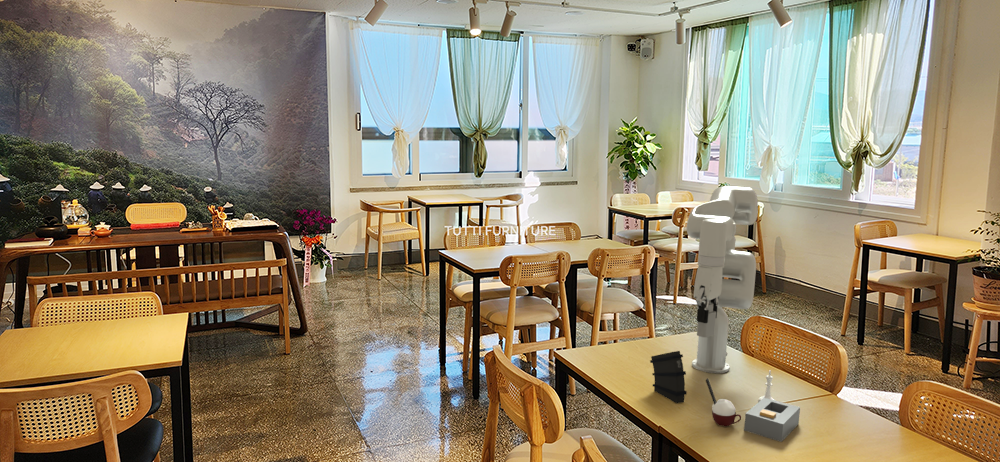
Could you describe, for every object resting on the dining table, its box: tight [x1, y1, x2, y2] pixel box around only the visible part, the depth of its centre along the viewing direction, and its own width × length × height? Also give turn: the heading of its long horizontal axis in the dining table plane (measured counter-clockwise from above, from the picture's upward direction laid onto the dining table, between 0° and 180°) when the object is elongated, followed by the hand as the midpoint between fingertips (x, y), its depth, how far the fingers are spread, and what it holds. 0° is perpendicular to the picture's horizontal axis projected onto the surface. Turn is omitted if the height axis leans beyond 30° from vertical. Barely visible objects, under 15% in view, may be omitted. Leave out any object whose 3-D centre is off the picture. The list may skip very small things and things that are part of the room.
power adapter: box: [696, 300, 716, 337], centre depth 200 cm, size 3×5×12 cm, turn 128°
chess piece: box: [758, 369, 777, 402], centre depth 204 cm, size 5×5×10 cm
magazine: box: [649, 350, 687, 404], centre depth 206 cm, size 4×13×15 cm, turn 26°
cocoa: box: [705, 377, 742, 427], centre depth 187 cm, size 10×6×12 cm
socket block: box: [743, 398, 801, 443], centre depth 186 cm, size 15×10×6 cm, turn 140°
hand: (706, 319), depth 201 cm, fingers closed on power adapter, 5 cm apart
